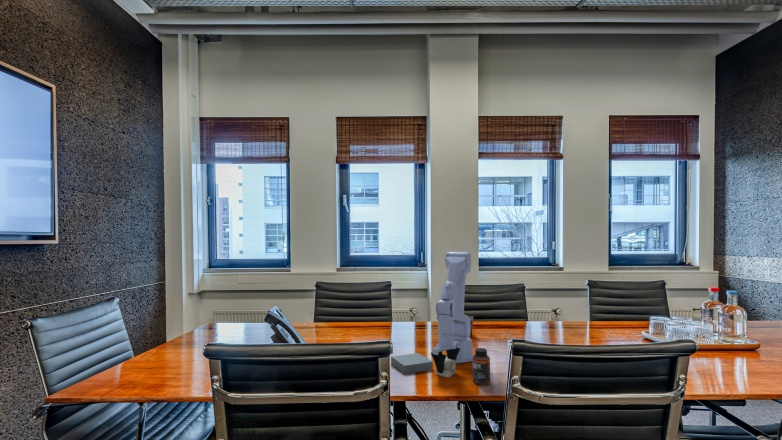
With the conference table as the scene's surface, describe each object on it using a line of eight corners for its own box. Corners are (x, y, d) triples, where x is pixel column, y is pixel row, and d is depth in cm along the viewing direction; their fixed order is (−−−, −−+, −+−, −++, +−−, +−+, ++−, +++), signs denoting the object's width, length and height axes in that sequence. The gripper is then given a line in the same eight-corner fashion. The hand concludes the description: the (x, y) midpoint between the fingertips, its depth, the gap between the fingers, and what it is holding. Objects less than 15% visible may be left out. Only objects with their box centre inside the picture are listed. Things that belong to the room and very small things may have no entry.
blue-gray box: (418, 360, 164) (418, 352, 164) (432, 369, 153) (432, 361, 153) (391, 364, 159) (391, 356, 160) (404, 374, 148) (404, 365, 149)
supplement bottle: (487, 379, 144) (487, 347, 144) (492, 385, 138) (492, 352, 138) (470, 379, 143) (470, 347, 144) (474, 385, 138) (474, 352, 138)
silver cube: (443, 371, 152) (443, 357, 152) (455, 374, 149) (455, 360, 149) (436, 374, 148) (436, 360, 149) (447, 377, 145) (447, 363, 145)
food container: (451, 331, 212) (451, 312, 213) (462, 330, 214) (462, 311, 215) (462, 337, 201) (462, 317, 201) (473, 336, 203) (473, 316, 203)
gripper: (444, 338, 141) (444, 377, 141) (465, 330, 152) (465, 367, 152) (427, 335, 146) (427, 373, 145) (449, 328, 157) (449, 363, 156)
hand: (445, 370), depth 149 cm, fingers open, 7 cm apart
